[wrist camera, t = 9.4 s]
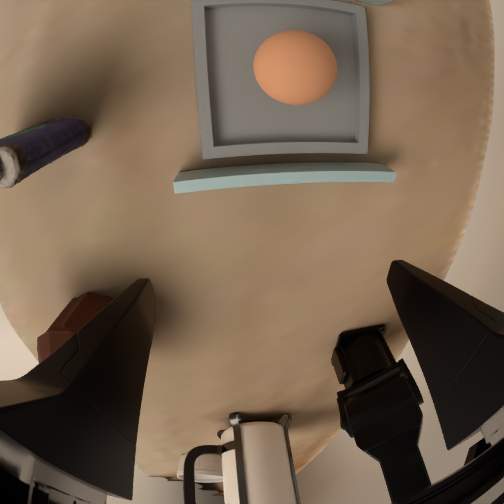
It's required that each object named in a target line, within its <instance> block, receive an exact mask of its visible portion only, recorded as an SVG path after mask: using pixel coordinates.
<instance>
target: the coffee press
mask: <svg viewBox="0 0 504 504" xmlns="http://www.w3.org/2000/svg"><path fill="white" fill-rule="evenodd" d="M286 417H289V418H288V420H287V422H286V424H285V427H283V426H282V425H280V424H281V423H282V422H283V420H284V419H285V418H286ZM229 420H230V422H231V424H232V427H229V428H228V429H226V430H225V431H222V430H221V431H219V432H218V433H217V435H218V437H219V438H220V439H221V445H203V446H198V447H195V448H193V449H192V450H191V451H190V452H189V453H188V454H187V456H186V458H185V461H184V469H183V485H184V486H183V490H184V504H196V503H195V474H194V466H195V460H196V459H197V458H198V457H199V456H201V455H204V454H214V455H220V456H221V458H222V470H223V485H224V499H225V504H301V503H300V497H299V492H298V486H297V481H296V475H295V469H294V464H293V458H292V453H291V447H290V442H289V436H288V427H289V425H290V423H291V421H292V418H291V417H290V416H289V415H288V414H284V415H282V416H281V418H280V419H279V420H278V421H277V422H275V423H273V422H248V423H244V422H243V421H242V419H241V417H240V415H239V414H238V413H234V414H230V415H229Z"/></svg>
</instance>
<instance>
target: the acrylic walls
mask: <svg viewBox="0 0 504 504" xmlns="http://www.w3.org/2000/svg"><path fill="white" fill-rule="evenodd" d="M357 1H361V2H365V3H369V4H373V5H377V6H380V5H383V4H385V3H388V2H390V1H393V0H357ZM395 178H396V172H395V171H393V170H392V169H390V168H388V167H386V166H385V165H383V164H381V163H360V162H304V163H276V164H258V165H244V166H231V167H220V168H210V169H201V170H192V171H184V172H179V173H178V174H177V176H176V178H175V180H174V181H173V185H174V192H175V194H176V193H184V192H193V191H202V190H212V189H222V188H233V187H245V186H259V185H274V184H292V183H316V182H395Z"/></svg>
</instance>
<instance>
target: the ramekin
mask: <svg viewBox="0 0 504 504" xmlns="http://www.w3.org/2000/svg"><path fill="white" fill-rule="evenodd" d="M187 454H188V453H185V454H183V455H182V456H181V457H180V461H179V467H178V472H177V477H178V478H180V479H183V469H184V461H185V458H186V456H187ZM194 474H195V482H223V470H222V458H221V456H220V455H214V454H204V455H201V456H199V457H198V458H197V459H196V460H195V466H194Z"/></svg>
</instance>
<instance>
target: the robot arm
mask: <svg viewBox="0 0 504 504" xmlns="http://www.w3.org/2000/svg"><path fill="white" fill-rule="evenodd" d="M387 285H388V287H389V290H390V293H391V295H392V298H393V301H394V304H395V307H396V309H397V312H398V315H399V317H400V320H401V322H402V324H403V326H404V328H405V331H406V333H407V335H408V338H409V340H410V342H411V345H412V347H413V349H414V351H415V354H416V357H417V359H418V362H419V364H420V367H421V369H422V372H423V375H424V377H425V380H426V383H427V385H428V388H429V391H430V394H431V397H432V400H433V403H434V406H435V409H436V412H437V416H438V419H439V422H440V426H441V429H442V433H443V436H444V440H445V443H446V447H447V450H450V449H452V448H454V447H455V446H457V445H459V444H460V443H462V442H464V441H465V440H467V439H468V438H470V437H472V436H473V435H475V434H476V433H478V432H479V431H481V432H482V434H483V436H484V438H483V439H482V440H480V441H479V442H477V443H476V444H475V445H473V446H472V447H470V448H469V451H468V455H467V458H466V461H465V464H464V466H463V467H461V468H460V469H458V470H457V471H455V472H453V473H452V474H450V475H448V476H447V477H445V478H443V479H441V480H440V481H438V482H436V483H434V484H433V485H431V482H430V479H429V476H428V473H427V470H426V467H425V464H424V461H423V458H422V456H421V453H420V451H419V447H418V444H419V440H420V435H421V429H422V424H423V414H422V411H421V409H420V407H419V405H421V404H422V403H424V401H423V398H422V395H421V393H420V390H419V388H418V386H417V384H416V382H415V380H414V378H413V376H412V374H411V373H410V371H409V369H408V367H407V365H406V364H405V362H404V360H403V359H401V360H399V362H397V363H396V361H395V359H394V357H393V355H392V353H391V351H390V349H389V347H388V345H387V343H386V341H385V339H384V337H383V335H384V333H385V330H386V326H385V325H379V326H374V327H370V328H365V329H360V330H355V331H350V332H344V333H341V334H340V335H339V337H338V341H337V344H336V347H335V348H334V351H333V355H332V359H331V360H332V362H331V363H332V365H333V366H334V369H335V372H336V375H337V378H338V381H339V383H340V384H344V386H345V390H343V391H339V392H337V395H338V398H337V402H338V406H339V411H340V426H341V428H342V429H343V430H346V432H347V433H348V434H349V436H350V437H351V438H353V437H354V439H355V441H356V444H357V446H358V447H359V448H360V449H361V450H362V451H364V452H366V453H367V454H368V455H370V456H371V457H372V458H374V459H375V460H377V461H378V462H380V465H381V468H382V471H383V475H384V478H385V481H386V485H387V488H388V491H389V495H390V498H391V502H392V504H504V312H502V311H500V310H497V309H496V308H493V307H492V306H490V305H488V304H486V303H484V302H482V301H480V300H478V299H477V298H475V297H473V296H471V295H469V294H467V293H465V292H464V291H462V290H460V289H458V288H456V287H454V286H453V285H451V284H449V283H447V282H445V281H443V280H441V279H439V278H437V277H435V276H433V275H431V274H429V273H427V272H426V271H424V270H422V269H420V268H418V267H416V266H413V265H411V264H409V263H407V262H405V261H403V260H394V261H392V263H391V265H390V269H389V272H388V276H387ZM155 306H156V297H155V293H154V290H153V287H152V283H151V281H150V279H149V278H139V279H137V280H136V281H135V282H134V283H133V284H131V285H130V286H129V287H128V288H127V289H125V290H124V291H123V292H122V293H121V294H119V295H118V296H117V297H116V298H115V299H114V300H112V301H111V302H110V303H109V304H108V305H107V306H105V307H104V308H103V309H102V310H101V311H100V312H99V313H97V314H96V315H95V316H94V317H93V318H92V319H91V320H89V321H88V322H87V323H86V324H85V325H84V326H83V327H82V328H80V329H79V330H78V331H77V333H75V334H74V335H73V336H72V337H70V338H69V339H68V340H67V341H66V342H65V343H64V344H63V345H61V346H60V347H59V348H58V349H57V350H55V351H54V352H53V353H52V354H51V355H49V356H48V357H47V358H46V359H44V360H43V361H42V362H41V363H39V364H38V365H37V366H36V367H35V368H33V369H32V370H31V371H29V372H28V373H27V374H26V375H24V376H22V377H21V378H18V379H15V380H8V381H0V504H106V500H107V495H110V496H114V497H118V498H123V499H127V500H132V496H133V477H134V464H135V453H136V446H135V445H136V441H137V432H138V424H139V416H140V409H141V402H142V395H143V389H144V382H145V377H146V371H147V365H148V360H149V354H150V349H151V344H152V338H153V327H154V316H155Z"/></svg>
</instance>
